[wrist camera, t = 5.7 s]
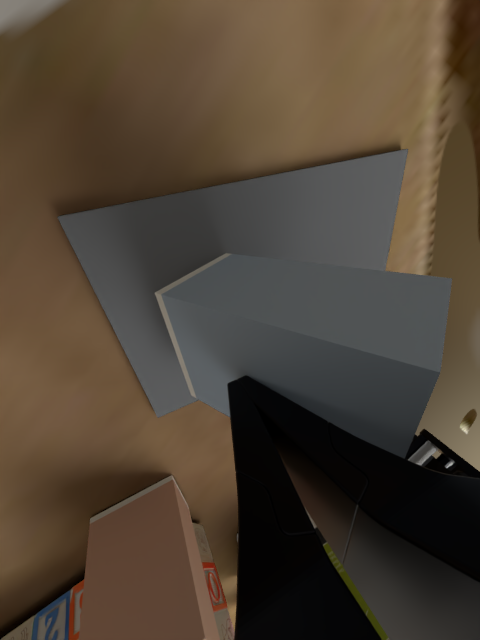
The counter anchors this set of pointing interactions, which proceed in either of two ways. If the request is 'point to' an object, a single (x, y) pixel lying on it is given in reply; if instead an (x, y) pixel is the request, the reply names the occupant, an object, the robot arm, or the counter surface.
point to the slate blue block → (313, 339)
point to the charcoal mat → (228, 245)
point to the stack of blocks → (65, 612)
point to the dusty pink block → (146, 572)
